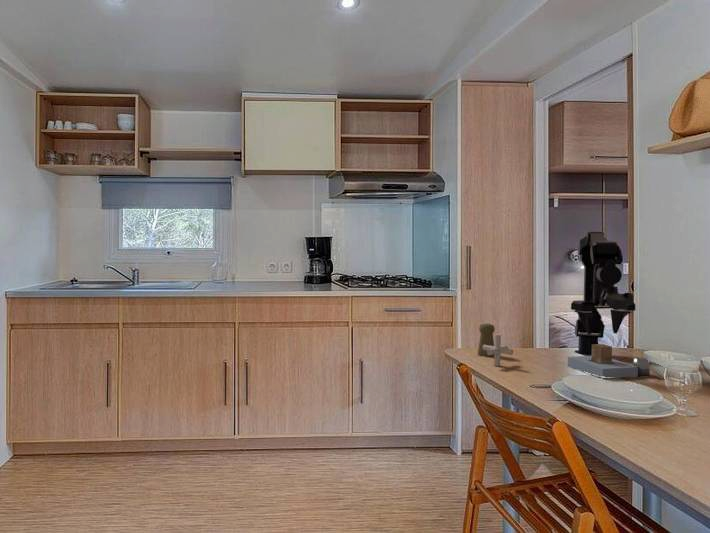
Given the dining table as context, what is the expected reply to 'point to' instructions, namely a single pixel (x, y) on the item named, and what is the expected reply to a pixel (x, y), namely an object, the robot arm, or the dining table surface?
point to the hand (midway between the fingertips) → (602, 333)
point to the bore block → (603, 367)
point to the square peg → (601, 354)
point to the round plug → (642, 366)
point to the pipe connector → (497, 350)
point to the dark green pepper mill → (486, 338)
